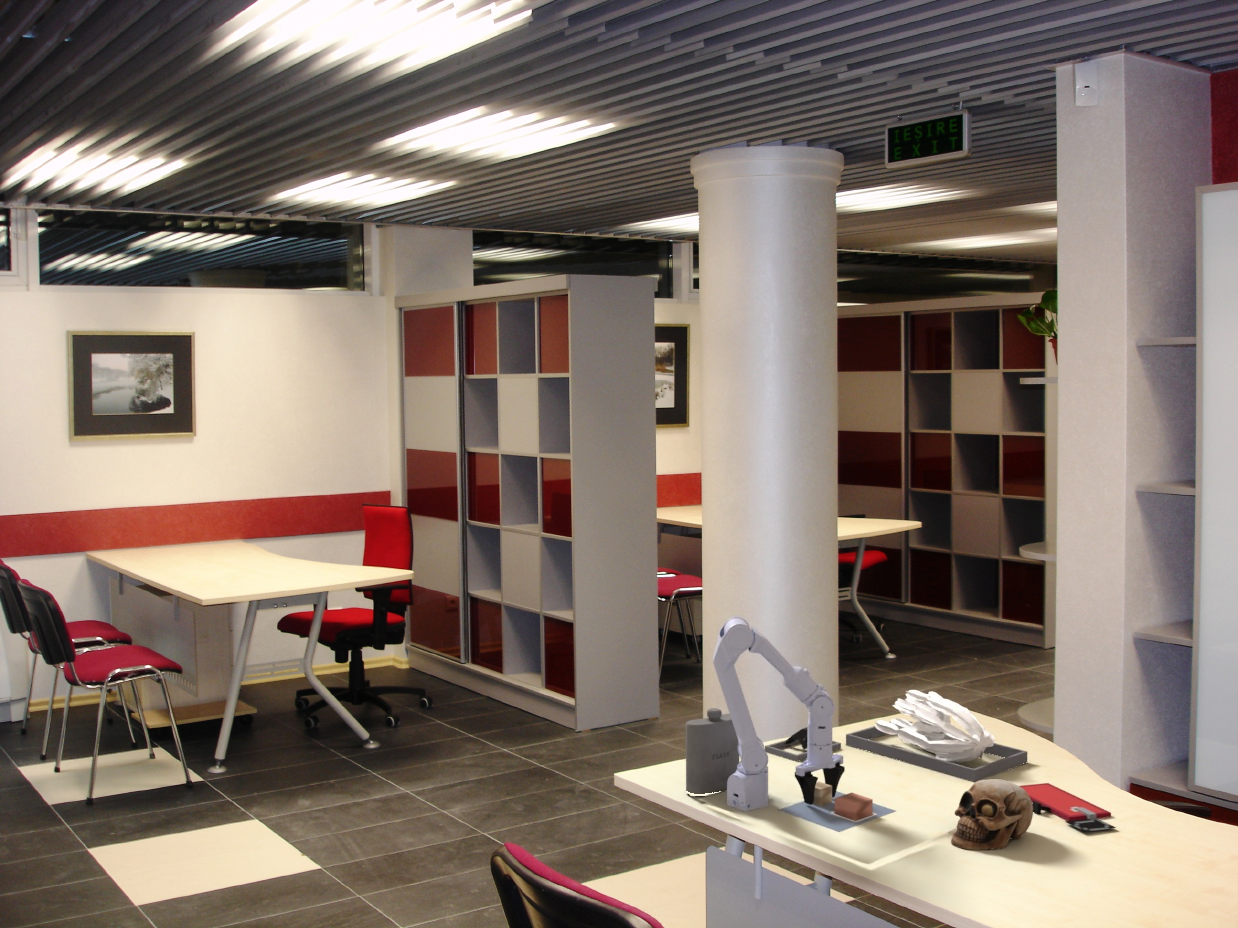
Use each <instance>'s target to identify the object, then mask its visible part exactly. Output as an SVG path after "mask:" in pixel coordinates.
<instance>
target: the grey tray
mask: <svg viewBox="0 0 1238 928" xmlns="http://www.w3.org/2000/svg"><path fill="white" fill-rule="evenodd" d="M907 721H908V722H910V723H915V722H913V721H909V720H907ZM888 722H889V723H891V721H888ZM898 729H902V728H898ZM886 735H888V734H887V733H884V732H882V731H880V730H878V729H877V728H876V727H875V725H874V726H870V727H867V728H864V729H860V730H859V729H858V730H857V731H852V732H849V733H846V734H845V746H848V747H850V748H855V749H858V748H859V749H858V750H861V749H863V750H862V751H864V750H867V751H866V752H868V751H870V752H869V753H871V752H873V753H872V754H875V753H876V754H875V755H878V754H879V756H883V757H885V756H886V757H885V758H890V759H892V758H893V759H892V760H896V759H897V760H896V761H899V760H900V762H902V763H903V762H904V763H907V764H910V765H914V766H917V767H920V768H923V769H928V770H931V771H934V772H936V773H937V772H938V773H940V774H941V773H942V774H945V775H949V776H952V777H955V778H959V779H962V780H966V781H968V782H973V783H975V782H977V781H980V780H986V779H987V778H989V777H992V776H993V777H994V776H995V775H998V774H1000V772H1001V773H1003V772H1002V771H1004V772H1006V771H1009V770H1011V768H1012V769H1015V768H1017V767H1019V765H1020V766H1022V765H1021V764H1023V763H1025V764H1027V763H1028V751H1027V750H1023V749H1019V748H1015V747H1011V746H1007V745H1004V744H999V743H996V742H994V745H993V746H991V747H986V749H985V750H984V752H986V753H985V754H988V753H990V754H989V755H992V754H994V755H993V756H995V755H998V756H997V757H999V756H1001V759H998V760H994V761H992V762H989V763H986V764H983V765H980V766H977V767H976V768H971V767H969V766H966V765H961V764H958V763H951V762H947V761H944V760H940V759H937V758H935V757H932V756H929V755H925V754H922V753H919V752H914V751H911V750H907V749H904V748H900V747H897V746H894V745H889V744H886V743H882V742H879V741H875V740H872V739H871V738H873V739H876V738H879V737H882V736H886ZM875 737H876V738H875ZM868 739H869V740H868ZM951 739H953V738H951ZM984 752H983V753H984ZM1003 757H1005V758H1003ZM1026 762H1027V763H1026ZM1023 765H1024V764H1023ZM1016 766H1017V767H1016ZM1014 767H1015V768H1014ZM1008 769H1009V770H1008ZM1005 770H1006V771H1005ZM997 773H998V774H997Z"/></svg>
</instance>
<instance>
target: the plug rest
mask: <svg viewBox="0 0 1238 928" xmlns="http://www.w3.org/2000/svg"><path fill="white" fill-rule="evenodd" d="M786 740H787V739H785V740H781V741H778V742H774V743H771V744H767V745H764V749H765V751H766V753H767V754H768V753H769V754H772V755H774V756H778V757H781V756H782V757H781V758H785V759H787V758H788V759H787V760H790V759H792V760H791V761H794V760H795V761H794V762H800V761H799V760H801V761H804V760H807V759H806V758H807V751H804V752H801V753H798V754H796V753H792V752H789V751H786V750H784V749H782V748H786V747H789V746H790V747H791V746H794V745H798V744H800V742H799V741H798V740H797V741H795V742H792V743H790V744H786ZM839 748H841V749H842V742H838V741H835V740H832V752H834V751H837V750H836V749H838V750H840V749H839ZM833 750H834V751H833ZM803 759H804V760H803Z"/></svg>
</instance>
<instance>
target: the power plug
mask: <svg viewBox="0 0 1238 928" xmlns="http://www.w3.org/2000/svg"><path fill="white" fill-rule="evenodd" d="M785 740H786V744H790V743H792V742H795V741H797V740H798V741H799V742H800V743H799V744H800V746H801V748H802V749H803V750H804V751H805V750H807V741H808V726H807V727H803V728H801V729H800V730H798V731H796V732H794V733H793V734H792V735H791V736H790V737H788V738H787V739H785Z"/></svg>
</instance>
